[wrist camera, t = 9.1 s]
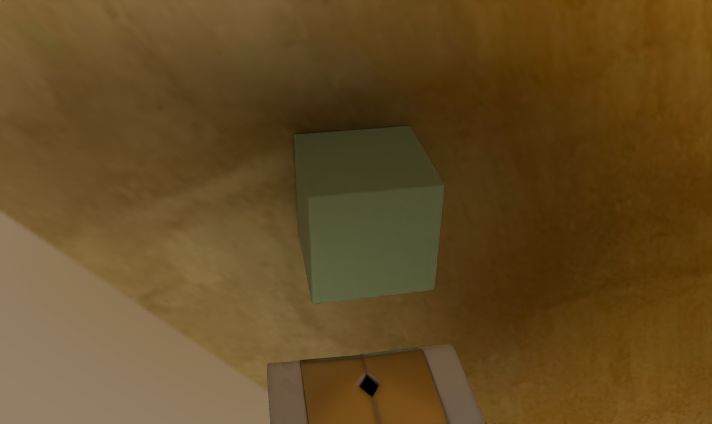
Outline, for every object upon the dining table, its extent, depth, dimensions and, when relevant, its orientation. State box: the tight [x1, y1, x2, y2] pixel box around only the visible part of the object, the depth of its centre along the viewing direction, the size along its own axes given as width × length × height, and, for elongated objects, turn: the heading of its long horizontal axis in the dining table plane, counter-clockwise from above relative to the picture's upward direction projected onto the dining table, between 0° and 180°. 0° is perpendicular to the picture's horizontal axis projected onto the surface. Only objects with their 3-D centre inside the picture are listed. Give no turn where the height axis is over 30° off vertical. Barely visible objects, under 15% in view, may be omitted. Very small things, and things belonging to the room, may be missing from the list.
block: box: [294, 126, 445, 304], centre depth 23 cm, size 4×4×4 cm
